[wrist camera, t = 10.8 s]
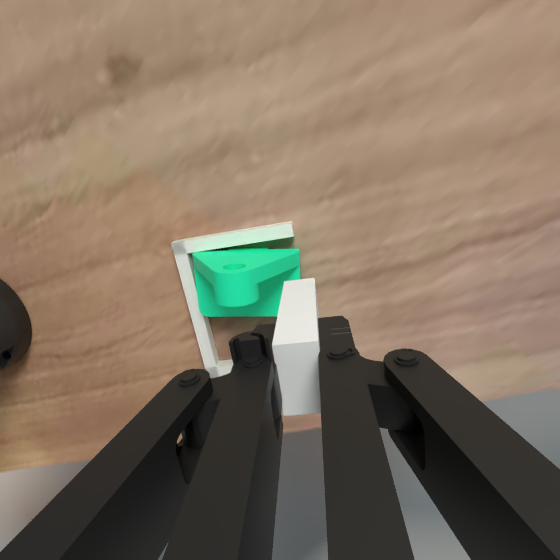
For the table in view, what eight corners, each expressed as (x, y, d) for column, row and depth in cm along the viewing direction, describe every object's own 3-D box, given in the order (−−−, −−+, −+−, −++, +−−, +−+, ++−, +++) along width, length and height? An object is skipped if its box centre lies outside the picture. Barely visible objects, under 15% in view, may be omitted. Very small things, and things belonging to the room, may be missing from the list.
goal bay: (292, 220, 40) (291, 223, 39) (315, 360, 46) (315, 366, 44) (175, 240, 42) (170, 242, 41) (211, 371, 47) (207, 378, 46)
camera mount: (206, 308, 45) (176, 348, 35) (199, 248, 43) (165, 274, 33) (301, 307, 44) (298, 348, 34) (300, 246, 41) (295, 272, 32)
